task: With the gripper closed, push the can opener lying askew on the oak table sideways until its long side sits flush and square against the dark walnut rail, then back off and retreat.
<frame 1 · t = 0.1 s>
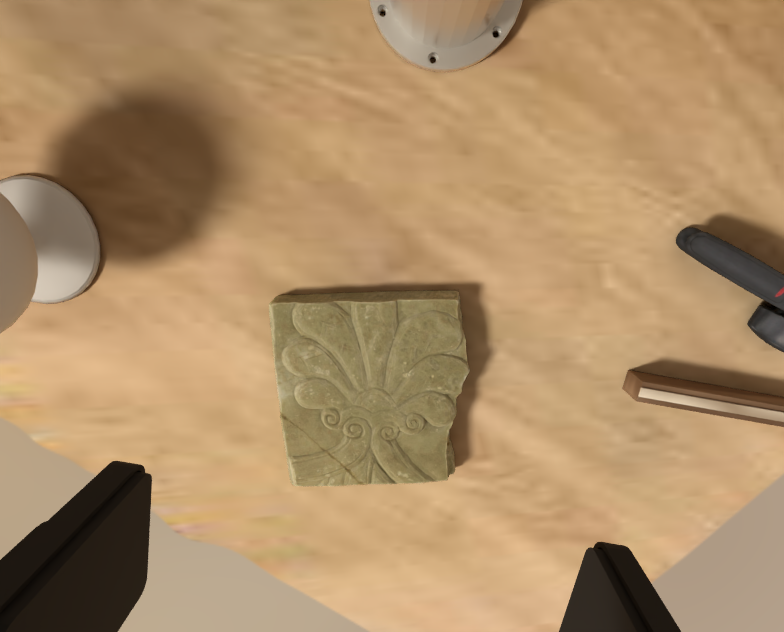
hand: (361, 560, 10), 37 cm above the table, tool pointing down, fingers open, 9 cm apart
walnut rail: (717, 395, 48), on the table
chalice: (41, 240, 46), on the table
decorative tile: (374, 384, 49), on the table
can opener: (744, 282, 45), on the table
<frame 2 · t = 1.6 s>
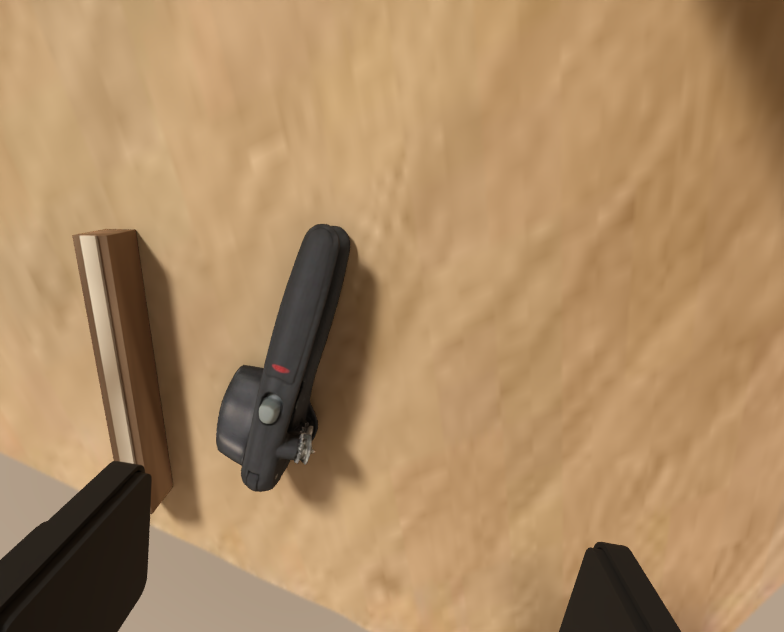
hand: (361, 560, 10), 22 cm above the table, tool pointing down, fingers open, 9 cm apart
walnut rail: (141, 368, 33), on the table
can opener: (299, 345, 32), on the table
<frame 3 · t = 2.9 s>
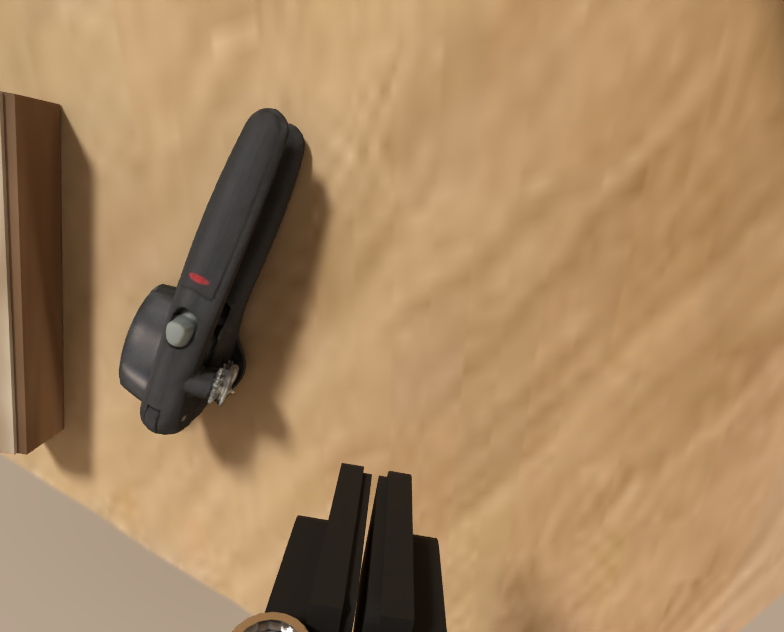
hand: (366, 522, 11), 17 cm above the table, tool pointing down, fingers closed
walnut rail: (44, 278, 27), on the table
can opener: (234, 269, 27), on the table
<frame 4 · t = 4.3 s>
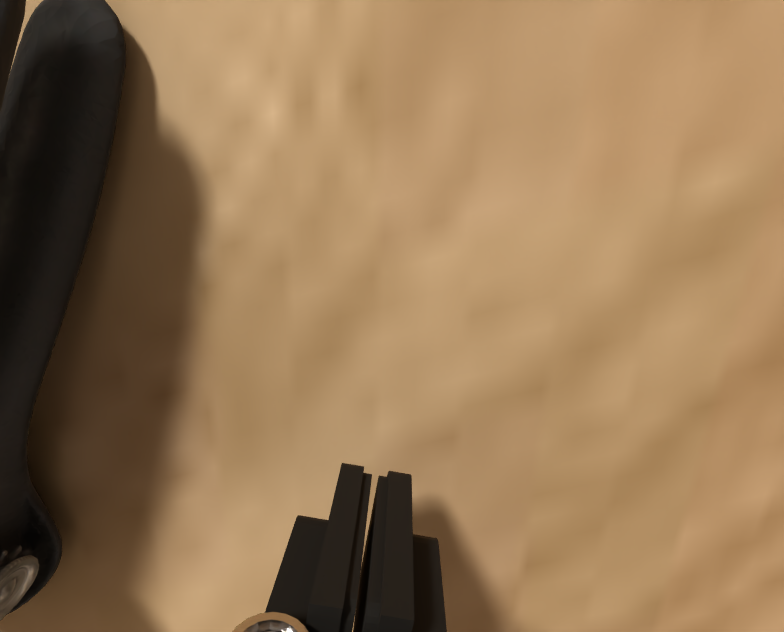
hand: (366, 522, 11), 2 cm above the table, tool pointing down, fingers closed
can opener: (25, 341, 13), on the table
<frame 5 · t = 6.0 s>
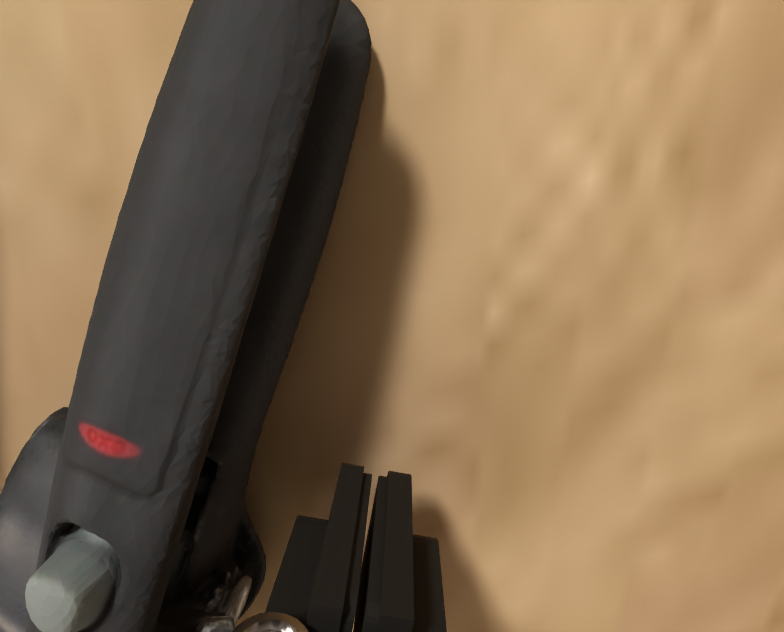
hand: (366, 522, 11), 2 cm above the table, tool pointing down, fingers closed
can opener: (224, 356, 12), on the table, touching gripper
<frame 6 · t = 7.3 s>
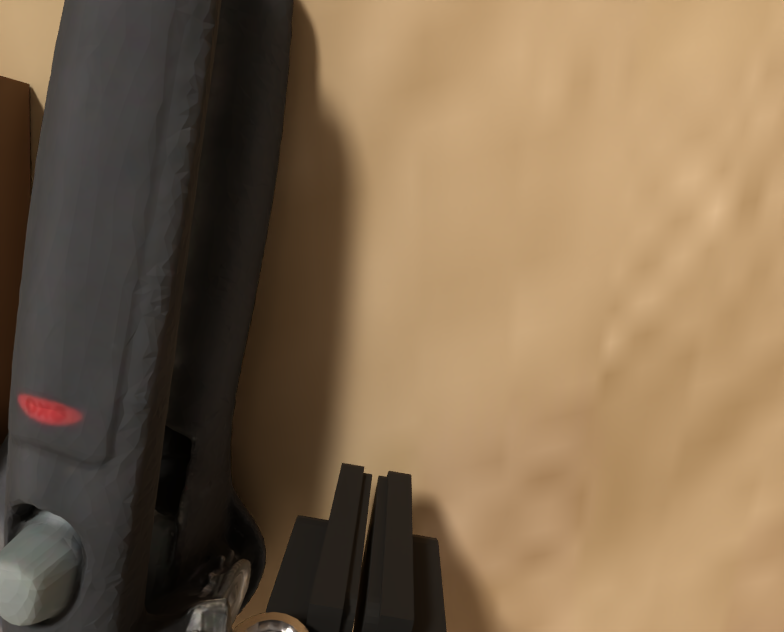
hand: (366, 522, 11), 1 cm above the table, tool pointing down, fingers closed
can opener: (196, 336, 12), on the table, touching gripper, walnut rail
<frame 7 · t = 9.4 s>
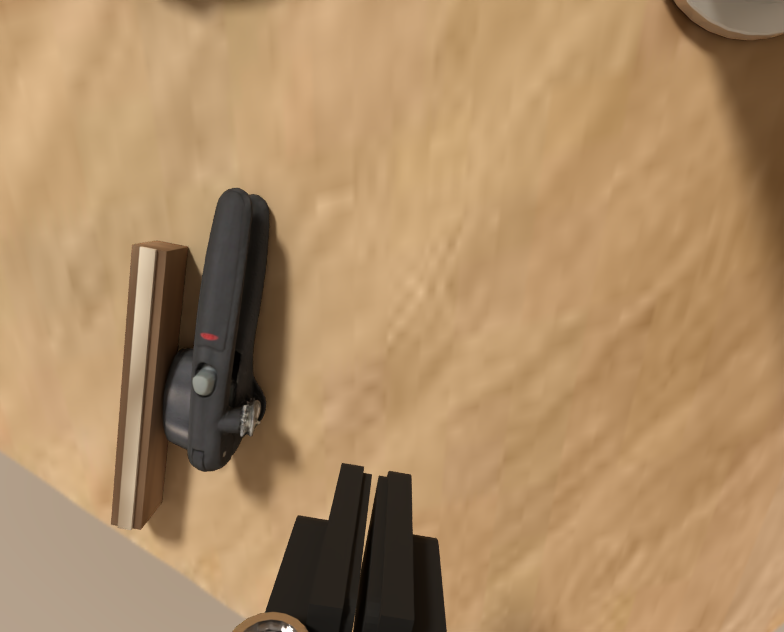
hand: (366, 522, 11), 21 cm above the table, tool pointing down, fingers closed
walnut rail: (159, 380, 33), on the table
can opener: (237, 322, 32), on the table, touching walnut rail
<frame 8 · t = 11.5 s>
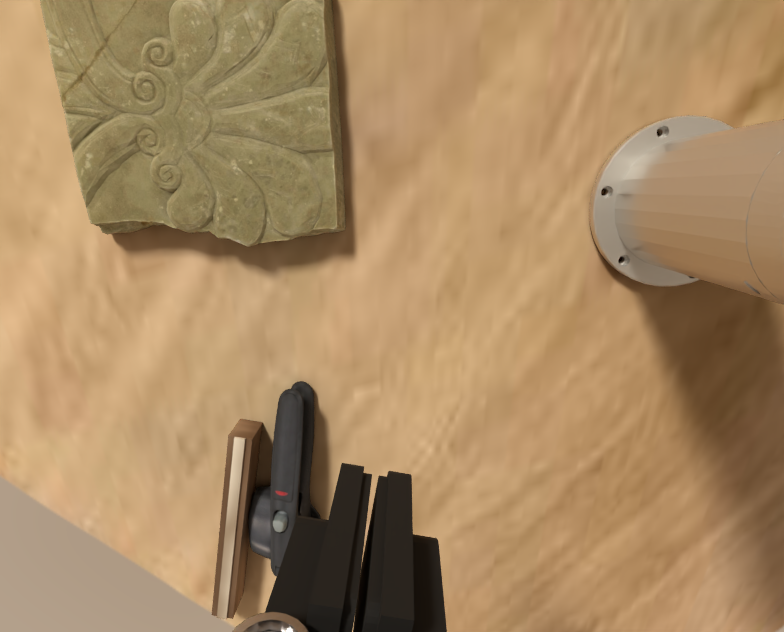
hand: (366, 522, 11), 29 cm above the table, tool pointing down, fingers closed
walnut rail: (241, 510, 45), on the table
decorative tile: (214, 123, 37), on the table
can opener: (295, 463, 44), on the table
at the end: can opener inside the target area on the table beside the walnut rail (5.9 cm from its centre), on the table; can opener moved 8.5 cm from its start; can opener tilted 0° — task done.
